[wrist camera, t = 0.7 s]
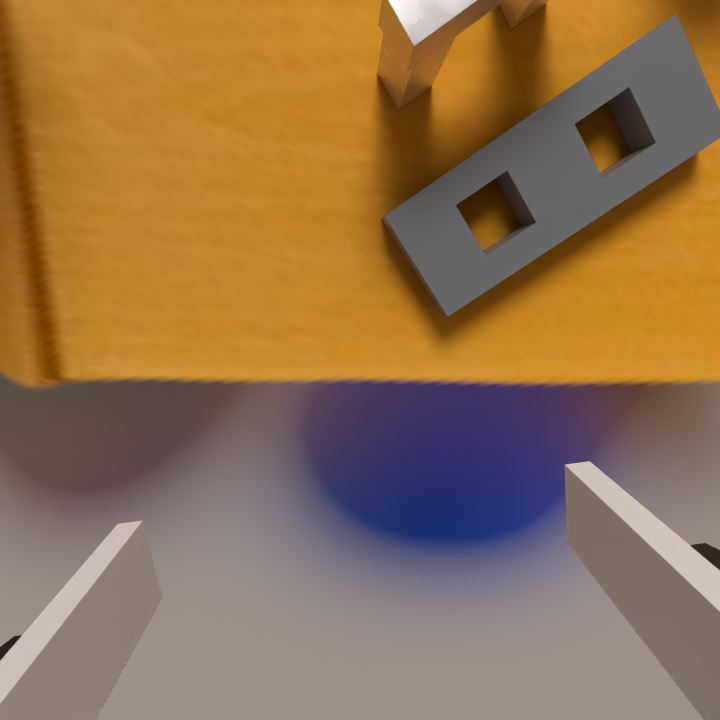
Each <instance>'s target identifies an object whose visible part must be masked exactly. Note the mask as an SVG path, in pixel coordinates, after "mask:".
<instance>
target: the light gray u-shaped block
mask: <svg viewBox="0 0 720 720" xmlns="http://www.w3.org/2000/svg"><path fill="white" fill-rule="evenodd" d="M548 1H549V0H382V2H381V9H380V17H379V24H378V25H379V27H380V28H381V30H382V32H383V39H382V45H381V51H380V57H379V64H378V70H377V74H378V76H379V78H380V79H381V81H382V83H383V84H384V86H385V88H386V89H387V91H388V93H389V94H390V96H391V98H392V100H393V101H394V103H395V105H396V106H397V108H398V110H399V109H400V108H402V107H403V106H404V105H406V104H407V103H409V102H410V101H411V100H413V99H414V98H416V97H417V96H418V95H420V94H421V93H422V92H424V91H425V90H427V89H428V88H429V87H431V86H432V84H433V82H434V80H435V78H436V76H437V74H438V72H439V70H440V68H441V66H442V64H443V62H444V60H445V58H446V56H447V54H448V51H449V49H450V47H451V45H452V43H453V41H454V39H455V37H456V36H457V35H458V34H460V33H461V32H462V31H464V30H465V29H467V28H468V27H469V26H471V25H472V24H473V23H475V22H476V21H478V20H479V19H480V18H482V17H483V16H484V15H486V14H487V13H489V12H490V11H491V10H493V9H494V8H496V7H497V6H498V5H499V6H500V8H501V10H502V12H503V14H504V16H505V18H506V20H507V21H508V23H509V25H510V27H511V29H512V28H513V27H514V26H516V25H517V24H519V23H520V22H521V21H523V20H524V19H526V18H527V17H528V16H530V15H531V14H533V13H534V12H535V11H537V10H538V9H540V8H541V7H542V6H544V5H545V4H546V3H547V2H548Z"/></svg>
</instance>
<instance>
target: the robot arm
mask: <svg viewBox="0 0 720 720" xmlns="http://www.w3.org/2000/svg"><path fill="white" fill-rule="evenodd" d="M565 481H566V482H565V484H566V511H567V512H566V513H567V542H568V545H569V546H570V547H571V549H572V550H573V551H574V553H576V555H577V556H578V558H579V559H580V560H581V562H582V563H583V564H584V565H585V567H586V568H587V569H588V571H590V573H591V574H592V576H593V577H594V578H595V580H596V581H597V582H598V584H599V585H600V586H601V587H602V589H603V590H604V591H605V593H606V594H607V595H608V596H609V598H610V599H611V600H612V602H613V603H614V604H615V606H616V607H617V608H618V609H619V611H620V612H621V613H622V615H623V616H624V617H625V618H626V620H627V621H628V622H629V624H630V625H631V626H632V627H633V629H634V630H635V631H636V633H637V634H638V635H639V637H640V638H641V639H642V640H643V642H644V643H645V644H646V646H647V647H648V648H649V649H650V651H651V652H652V653H653V655H654V656H655V657H656V659H657V660H658V661H659V662H660V664H661V665H662V666H663V667H664V669H665V670H666V671H667V673H668V674H669V675H670V676H671V678H672V679H673V680H674V682H675V683H676V684H677V686H678V687H679V688H680V690H681V691H682V692H683V693H684V695H685V696H686V697H687V698H688V700H689V701H690V702H691V704H692V705H693V706H694V708H695V709H696V710H697V711H698V713H699V714H700V715H701V717H702V718H703V719H704V720H720V550H718V549H716V548H714V547H712V546H710V545H708V544H706V543H703V544H695V545H689V544H687V543H686V542H685V541H684V540H683V539H681V538H680V537H679V536H678V535H677V534H675V533H674V532H673V531H672V530H671V529H669V528H668V527H667V526H666V525H665V524H664V523H662V522H661V521H660V520H659V519H657V518H656V517H655V516H654V515H653V514H652V513H650V512H649V511H648V510H647V509H646V508H644V507H643V506H642V505H641V504H639V503H638V502H637V501H636V500H635V499H634V498H632V497H631V496H630V495H629V494H627V492H625V491H624V490H623V489H621V487H619V486H618V485H617V484H616V483H615V482H613V481H612V480H611V479H610V478H608V477H607V476H606V475H605V474H604V473H603V472H601V471H600V470H599V469H598V468H597V467H595V466H594V465H593V464H592V463H591V462H582V463H574V464H567V465H565ZM161 599H162V594H161V590H160V586H159V582H158V578H157V575H156V571H155V567H154V563H153V559H152V555H151V551H150V548H149V544H148V540H147V536H146V532H145V529H144V524H143V521H137V522H129V523H122V524H118V525H117V526H116V527H115V528H114V529H113V530H112V531H111V533H110V534H109V535H108V536H107V537H106V538H105V540H104V541H103V542H102V543H101V544H100V545H99V547H98V548H97V549H96V550H95V551H94V552H93V554H92V555H91V556H90V557H89V558H88V559H87V561H86V562H85V563H84V564H83V565H82V566H81V567H80V569H79V570H78V571H77V572H76V573H75V575H74V576H73V577H72V578H71V579H70V580H69V581H68V583H67V584H66V585H65V586H64V587H63V588H62V590H61V591H60V592H59V593H58V594H57V595H56V597H55V598H54V599H53V600H52V601H51V602H50V604H49V605H48V606H47V607H46V608H45V609H44V611H43V612H42V613H41V614H40V615H39V616H38V618H37V619H36V620H35V621H34V622H33V623H32V625H31V626H30V627H29V628H28V629H27V630H26V631H25V633H24V634H23V635H20V636H14V637H13V638H11V639H10V640H9V641H8V642H6V643H5V644H4V645H2V646H1V647H0V720H96V719H97V716H98V715H99V713H100V711H101V709H102V707H103V706H104V704H105V702H106V700H107V698H108V696H109V695H110V693H111V691H112V689H113V687H114V685H115V683H116V682H117V680H118V678H119V676H120V674H121V672H122V671H123V669H124V667H125V665H126V663H127V661H128V660H129V658H130V656H131V654H132V652H133V650H134V649H135V647H136V645H137V643H138V641H139V639H140V638H141V636H142V634H143V632H144V630H145V628H146V626H147V624H148V622H149V621H150V619H151V617H152V615H153V614H154V612H155V610H156V608H157V606H158V604H159V602H160V601H161Z"/></svg>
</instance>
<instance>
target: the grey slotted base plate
mask: <svg viewBox="0 0 720 720" xmlns="http://www.w3.org/2000/svg"><path fill="white" fill-rule="evenodd" d="M606 102H607V104H608V106H609V108H610V110H611V112H612V114H613V116H614V118H615V120H616V122H617V124H618V126H619V128H620V130H621V132H622V134H623V136H624V139H625V141H626V143H627V145H628V147H629V149H630V151H631V153H629V154H628V155H626V156H625V157H623V158H622V159H620V160H619V161H617V162H616V163H614V164H613V165H611V166H610V167H608V168H607V169H605V170H604V171H602V172H601V173H600V172H599V170H598V168H597V167H596V165H595V163H594V161H593V159H592V157H591V155H590V153H589V151H588V149H587V147H586V145H585V143H584V141H583V139H582V137H581V135H580V134H579V132H578V130H577V128H576V126H575V124H576V123H577V122H578V121H580V120H581V119H583V118H584V117H586V116H587V115H589V114H590V113H592V112H593V111H595V110H596V109H598V108H599V107H600V106H602V105H603V104H605V103H606ZM719 138H720V111H719V108H718V106H717V104H716V102H715V99H714V97H713V95H712V93H711V90H710V88H709V86H708V84H707V81H706V79H705V77H704V75H703V72H702V70H701V68H700V66H699V63H698V61H697V59H696V57H695V54H694V52H693V50H692V48H691V45H690V43H689V41H688V39H687V36H686V34H685V32H684V30H683V27H682V25H681V23H680V21H679V18H678V16H677V14H675V15H674V16H672V17H671V18H669V19H668V20H666V21H665V22H663V23H662V24H661V25H659V26H658V27H656V28H655V29H653V30H652V31H650V32H649V33H648V34H646V35H645V36H643V37H642V38H640V39H639V40H637V41H636V42H635V43H633V44H632V45H630V46H629V47H627V48H626V49H625V50H623V51H622V52H620V53H619V54H617V55H616V56H614V57H613V58H612V59H610V60H609V61H607V62H606V63H604V64H603V65H601V66H600V67H599V68H597V69H596V70H594V71H593V72H591V73H590V74H588V75H587V76H586V77H584V78H583V79H581V80H580V81H578V82H577V83H575V84H574V85H573V86H571V87H570V88H568V89H567V90H565V91H564V92H562V93H561V94H560V95H558V96H557V97H555V98H554V99H552V100H551V101H549V102H548V103H547V104H545V105H544V106H542V107H541V108H539V109H538V110H537V111H535V112H534V113H532V114H531V115H529V116H528V117H526V118H525V119H524V120H522V121H521V122H519V123H518V124H516V125H515V126H513V127H512V128H511V129H509V130H508V131H506V132H505V133H503V134H502V135H500V136H499V137H498V138H496V139H495V140H493V141H492V142H490V143H489V144H487V145H486V146H485V147H483V148H482V149H480V150H479V151H477V152H476V153H474V154H473V155H472V156H470V157H469V158H467V159H466V160H464V161H463V162H461V163H460V164H459V165H457V166H456V167H454V168H453V169H451V170H450V171H449V172H447V173H446V174H444V175H443V176H441V177H440V178H438V179H437V180H436V181H434V182H433V183H431V184H430V185H428V186H427V187H425V188H424V189H423V190H421V191H420V192H418V193H417V194H415V195H414V196H412V197H411V198H410V199H408V200H407V201H405V202H404V203H402V204H401V205H399V206H398V207H397V208H395V209H394V210H392V211H391V212H389V213H388V214H386V215H385V216H384V217H383V218H382V221H383V223H384V224H385V226H386V227H387V229H388V231H389V232H390V234H391V235H392V237H393V238H394V240H395V242H396V243H397V245H398V246H399V248H400V250H401V251H402V253H403V254H404V256H405V257H406V259H407V261H408V262H409V264H410V265H411V267H412V269H413V270H414V272H415V273H416V275H417V276H418V278H419V280H420V281H421V283H422V284H423V286H424V288H425V289H426V291H427V292H428V294H429V295H430V297H431V299H432V300H433V302H434V303H435V305H436V307H437V308H438V310H439V311H440V313H442V314H444V315H446V316H447V317H448V316H450V315H451V314H453V313H454V312H456V311H457V310H459V309H460V308H462V307H463V306H465V305H466V304H468V303H470V302H471V301H473V300H474V299H476V298H477V297H479V296H480V295H482V294H483V293H485V292H486V291H488V290H489V289H491V288H492V287H494V286H495V285H497V284H498V283H500V282H501V281H503V280H505V279H506V278H508V277H509V276H511V275H512V274H514V273H515V272H517V271H518V270H520V269H521V268H523V267H524V266H526V265H527V264H529V263H530V262H532V261H533V260H535V259H536V258H538V257H540V256H541V255H543V254H544V253H546V252H547V251H549V250H550V249H552V248H553V247H555V246H556V245H558V244H559V243H561V242H562V241H564V240H565V239H567V238H568V237H570V236H571V235H573V234H575V233H576V232H578V231H579V230H581V229H582V228H584V227H585V226H587V225H588V224H590V223H591V222H593V221H594V220H596V219H597V218H599V217H600V216H602V215H603V214H605V213H606V212H608V211H610V210H611V209H613V208H614V207H616V206H617V205H619V204H620V203H622V202H623V201H625V200H626V199H628V198H629V197H631V196H632V195H634V194H635V193H637V192H638V191H640V190H641V189H643V188H645V187H646V186H648V185H649V184H651V183H652V182H654V181H655V180H657V179H658V178H660V177H661V176H663V175H664V174H666V173H667V172H669V171H670V170H672V169H673V168H675V167H676V166H678V165H680V164H681V163H683V162H684V161H686V160H687V159H689V158H690V157H692V156H693V155H695V154H696V153H698V152H699V151H701V150H702V149H704V148H705V147H707V146H708V145H710V144H711V143H713V142H715V141H716V140H718V139H719ZM494 179H496V181H497V183H498V184H499V186H500V188H501V190H502V192H503V193H504V195H505V197H506V199H507V200H508V202H509V204H510V206H511V207H512V209H513V211H514V213H515V215H516V216H517V218H518V220H519V222H520V223H521V226H520V227H518V228H517V229H515V230H514V231H512V232H511V233H509V234H508V235H506V236H505V237H503V238H502V239H500V240H499V241H497V242H496V243H494V244H493V245H491V246H490V247H488V248H487V249H485V250H484V251H483V250H482V249H481V247H480V245H479V244H478V242H477V240H476V239H475V237H474V235H473V233H472V232H471V230H470V228H469V227H468V225H467V223H466V222H465V220H464V218H463V217H462V215H461V213H460V212H459V210H458V208H457V206H456V205H457V204H459V203H460V202H461V201H463V200H464V199H466V198H467V197H469V196H470V195H472V194H473V193H475V192H476V191H478V190H479V189H480V188H482V187H483V186H485V185H486V184H488V183H489V182H491V181H492V180H494Z"/></svg>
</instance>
